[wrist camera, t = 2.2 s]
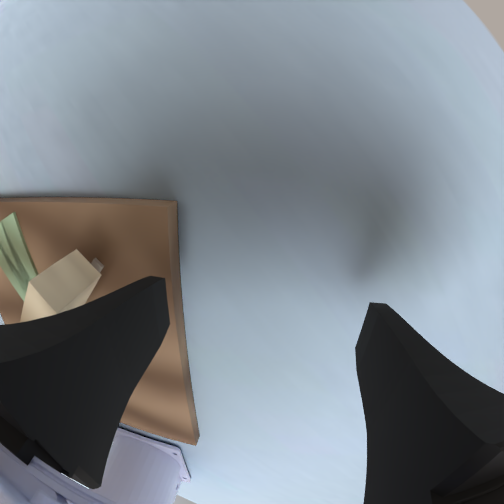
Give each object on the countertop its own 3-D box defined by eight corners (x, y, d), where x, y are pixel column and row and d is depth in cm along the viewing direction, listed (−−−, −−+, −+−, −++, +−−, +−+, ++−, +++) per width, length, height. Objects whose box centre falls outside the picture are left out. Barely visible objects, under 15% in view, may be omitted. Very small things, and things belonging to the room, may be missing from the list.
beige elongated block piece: (76, 377, 16) (48, 413, 13) (29, 329, 15) (-4, 360, 12) (141, 291, 12) (91, 347, 8) (67, 215, 11) (4, 248, 7)
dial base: (199, 435, 19) (195, 447, 18) (37, 373, 21) (31, 380, 20) (177, 200, 12) (165, 208, 11) (-20, 198, 14) (-31, 203, 13)
